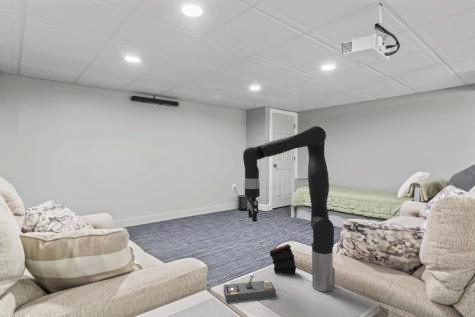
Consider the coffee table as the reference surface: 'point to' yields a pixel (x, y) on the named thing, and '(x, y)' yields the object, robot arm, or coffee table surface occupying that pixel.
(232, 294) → the panel
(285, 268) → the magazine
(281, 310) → the coffee table surface
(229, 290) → the button
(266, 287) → the slider
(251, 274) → the toggle
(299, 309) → the coffee table surface
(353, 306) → the coffee table surface
